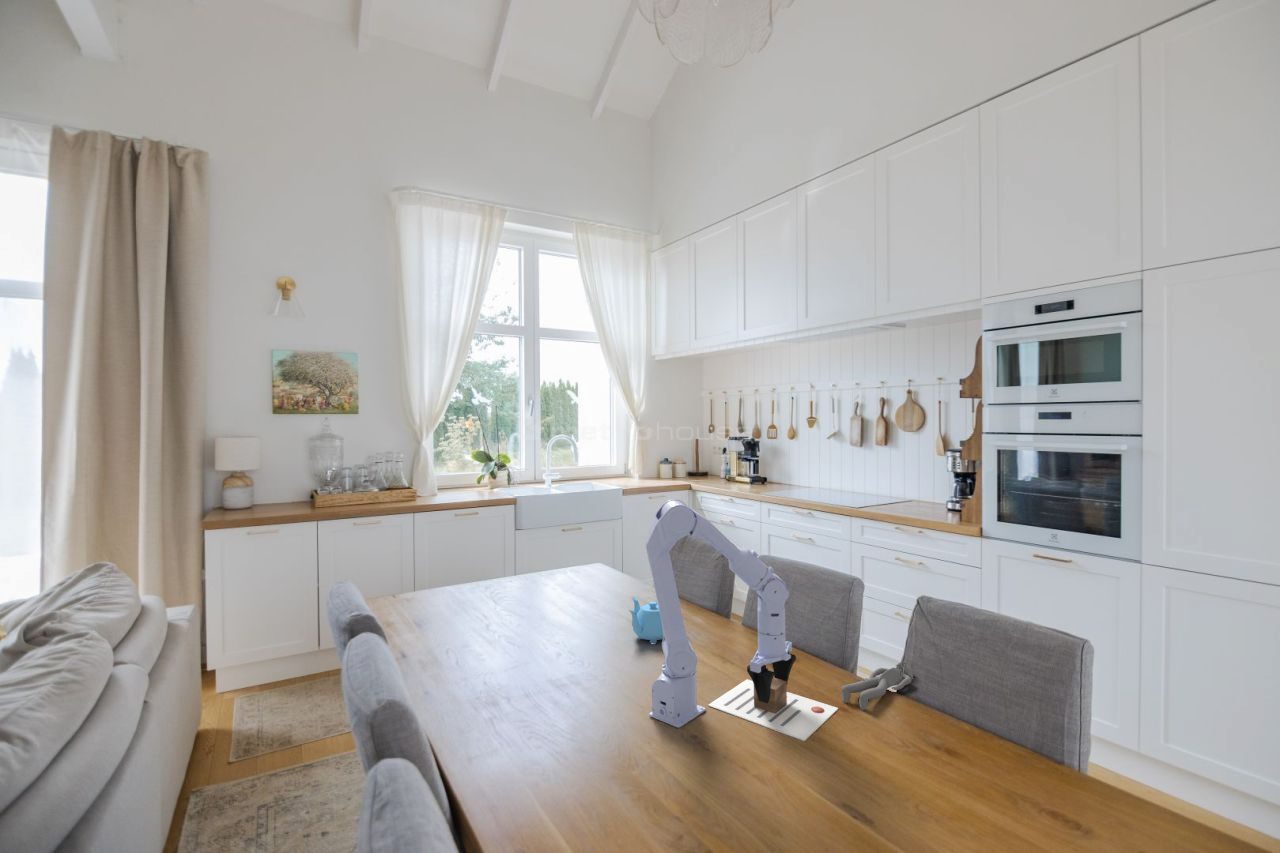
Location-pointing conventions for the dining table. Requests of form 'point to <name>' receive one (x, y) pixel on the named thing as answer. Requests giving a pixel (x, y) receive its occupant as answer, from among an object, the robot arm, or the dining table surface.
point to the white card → (790, 720)
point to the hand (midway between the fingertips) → (772, 694)
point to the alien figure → (877, 684)
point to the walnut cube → (773, 697)
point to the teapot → (647, 621)
